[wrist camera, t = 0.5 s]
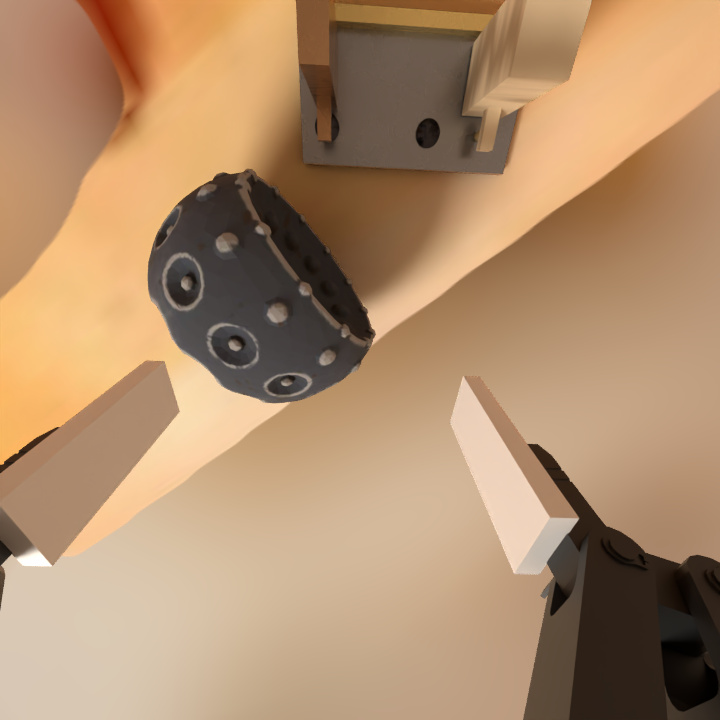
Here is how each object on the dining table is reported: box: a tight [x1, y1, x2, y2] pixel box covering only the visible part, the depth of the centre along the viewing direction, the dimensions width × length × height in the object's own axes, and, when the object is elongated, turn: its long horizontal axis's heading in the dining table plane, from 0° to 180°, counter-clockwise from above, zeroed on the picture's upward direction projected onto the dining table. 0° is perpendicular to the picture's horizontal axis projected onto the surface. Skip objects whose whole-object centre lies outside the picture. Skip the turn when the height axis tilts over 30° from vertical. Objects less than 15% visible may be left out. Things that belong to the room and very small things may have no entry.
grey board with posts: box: [296, 0, 518, 175], centre depth 24 cm, size 11×21×11 cm, turn 87°
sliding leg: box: [462, 0, 592, 152], centre depth 23 cm, size 8×4×10 cm, turn 177°
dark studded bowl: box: [148, 169, 376, 403], centre depth 28 cm, size 11×20×20 cm, turn 36°
